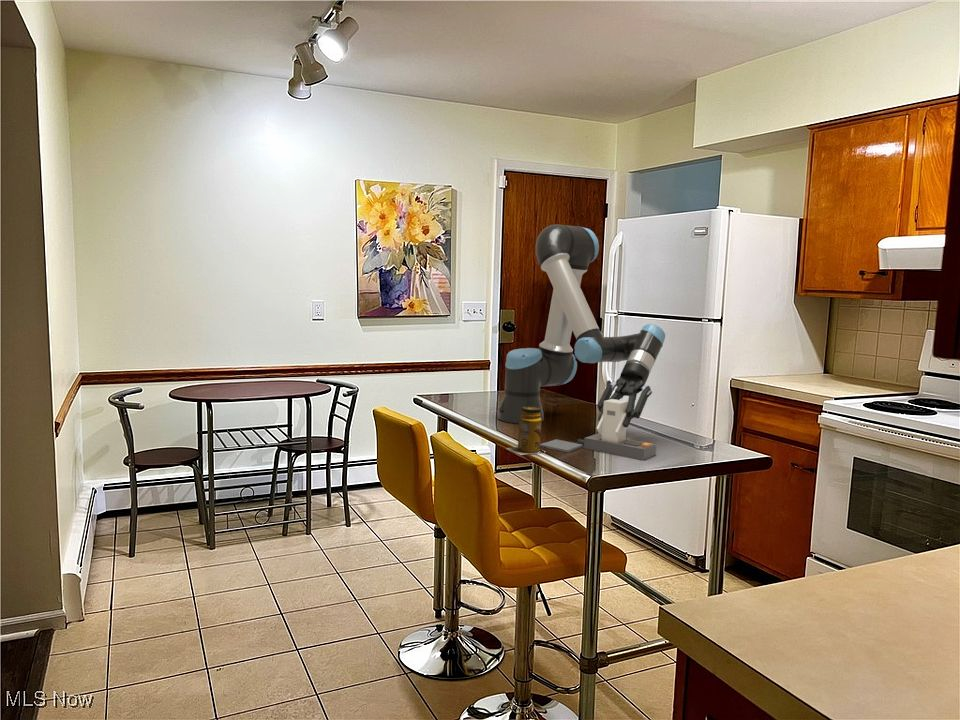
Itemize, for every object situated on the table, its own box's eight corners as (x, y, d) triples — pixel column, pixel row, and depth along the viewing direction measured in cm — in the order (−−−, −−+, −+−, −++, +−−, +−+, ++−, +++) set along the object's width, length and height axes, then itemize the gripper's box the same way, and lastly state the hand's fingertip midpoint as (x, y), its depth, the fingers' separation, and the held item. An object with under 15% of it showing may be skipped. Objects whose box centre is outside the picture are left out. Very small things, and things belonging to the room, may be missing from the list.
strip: (571, 445, 204) (572, 433, 204) (584, 441, 210) (585, 429, 210) (643, 460, 191) (644, 447, 191) (655, 454, 198) (656, 442, 197)
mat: (555, 441, 209) (555, 439, 209) (583, 446, 203) (583, 444, 203) (539, 446, 202) (539, 444, 201) (567, 452, 196) (567, 450, 196)
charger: (609, 440, 204) (611, 398, 203) (625, 443, 201) (628, 401, 200) (600, 443, 200) (603, 401, 198) (617, 446, 197) (620, 403, 196)
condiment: (546, 452, 195) (548, 409, 194) (521, 455, 191) (523, 411, 189) (529, 446, 201) (532, 404, 200) (505, 449, 197) (507, 406, 195)
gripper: (669, 381, 205) (641, 446, 194) (612, 373, 216) (583, 435, 205) (663, 364, 201) (634, 430, 189) (605, 357, 211) (575, 420, 200)
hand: (608, 433), depth 197 cm, fingers closed on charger, 5 cm apart
